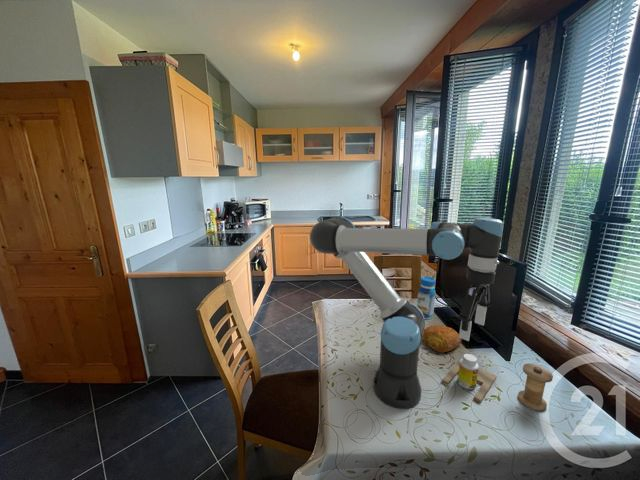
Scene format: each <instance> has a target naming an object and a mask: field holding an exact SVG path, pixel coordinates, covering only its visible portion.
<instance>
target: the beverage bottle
mask: <svg viewBox="0 0 640 480" xmlns="http://www.w3.org/2000/svg"><path fill="white" fill-rule="evenodd" d="M419 282H420V283H419V284H420V286H419V287H418V289H417V292H418V293H417V301H416V302H417V303H416V306H417V307H418V308H419V309H420V310H421V311H422V313H423V315H424V319H425V320H430V319H433V317H434V310H435V303H436V302H435V300H436V293H437V292H436V289H435V285H436V279H435V278H433V277H432V276H422V277H420V281H419Z"/></svg>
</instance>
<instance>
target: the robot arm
mask: <svg viewBox="0 0 640 480" xmlns="http://www.w3.org/2000/svg"><path fill="white" fill-rule="evenodd" d="M503 227H504V223H503V221H502V220H501V219H497V218H492V217H476V218H474V220H473V222H472V223H467V224H466V223H457V222H446V221H433V222H431V224H430V228H387V227H385V228H380V227H379V228H378V227H377V228H372V227H371V228H370V227H366V228H365V227H361V228H360V227H359V228H357V227H355V224H354V223H353V222H352V220H350V219H349V218H347V217H343V216H334V217H331V218H329V219H324V220H321V221H318V222H317V223H316V224H314V225H313V227H312V228H311V231H310V232H309V233H310V234H309V240H310V244H311V246H312V247H313V249H314V250H316V251H317V252H319V253H321V254H329V255H332V256H334V258H337V259H340V260H342V261H343V263H344V264H345V265H346V266H347V268H348V269H349V271H350V272H351V273H352V274H353V276H354V277H355V278H356V280H357V281H358V282H359V284H360V285H361V286H362V288H363V289H364V291H365V292H366V293H367V295H368V296H369V297H370V299H372V301H373V302H374V304H375V305H376V306H377V307H378V308H379V311H380V319H381V320H382V321H383V324H381V325H382V326H381V330H380V352H379V366H378V368H377V370H376V371H375V375H374V377H373V382H372V389H373V391H374V394H375V396H376V397H377V398H378V399H379V400H380V401H381V402H383V404H386V405H388V406H390V407H393V408H397V409H410V408H414V407H415V406H417V405H418V404H419V403H420V401H421V398H422V387H421V386H422V385H421V383H420V379H419V375H418V364H419V354H420V348H421V344H422V343H421V342H422V340H423V338H422V335H423V332H424V329H425V328H426V322H425V320H426V319H424V315H423V313H422V311H421V310H420V309H419V308H418V307H417V305H415V304H413V303H410V302H409V300H408V299H407V298H406V297H402V296H400V295H399V294H398V293H397V292H396V290H395V289H394V287H393V286H392V285H391V284H390V282H389V281H388V279H386V277H385V276H384V274H383V273H382V272H381V271H380V269H379V268H378V267H377V265H376V264H375V263H374V262H373V261H372V260H371V258H370V257H369V255H368V254H367V253H373V254H374V253H377V254H396V255H397V254H398V255H419V256H436V257H438V258H439V259H442V260H447V261H448V260H454V259H456V258H458V257H459V256H460V255H461V254H462V253H463V252H464V251H463V250H464V249H469V254H468V258H467V259H468V260H467V267H466V274H465V275H466V277H465V278H466V280H467V281H469V282H471V284H470V286H468V287H467V288H466V291H465V296H464V298H463V302H462V306H461V309H460V313H459V315H458V317H457V318H458V319H459V320H461V321H460V326H459V333H458V334H459V338H461V339H462V340H464V341H467V342H469V341H470V337H471V331H472V324H473V323H472V322H473V321H472V318H473V315H474V312H475V315H474V323H475V324H478V325H480V326H484V325H485V320H486V315H487V314H486V313H487V310H488V308H490V307H491V303H490V302H491V301H490V299H491V294H490V293H491V292H490V289H491V288H490V287H491V285H493V284H494V283H495V279H496V270H497V266H498V265H499V264H500V261H499V260H498V259H499V254H500V248H501V243H502V237H503ZM475 310H476V311H475Z"/></svg>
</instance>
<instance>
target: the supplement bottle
mask: <svg viewBox="0 0 640 480" xmlns="http://www.w3.org/2000/svg"><path fill="white" fill-rule="evenodd" d="M460 359H461V360H460ZM460 359H459V360H460V364H459V372H458V374H457V382H458V384H459V385H460V386H461V387H462V388H464V389H467V390H474V389H475V388H476V387H477V383H478V382H477V376H478V369H479V368H480V366H479V364H478V358H477V357H476V356H475V355H473V354H471V353H465V354H464V353H463V357H462V358H460Z"/></svg>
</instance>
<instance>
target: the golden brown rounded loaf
mask: <svg viewBox="0 0 640 480" xmlns="http://www.w3.org/2000/svg"><path fill="white" fill-rule="evenodd" d="M422 341H423V343H425V344H426V346H427V345H428V346H429V347H430V348H431V349H433V350H435V352H439V353H445V352H450V351H452V350H453V349H455V348H457V347H458V346H459V345H460V344H461V343H462V341H463V339H462V338H459V333H458V332H457V331H456V330H455V329H453V328H452V327H448V326H444V325H438V324H436V325H431V326H427V327H425V328H424V331H423V335H422Z"/></svg>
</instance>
